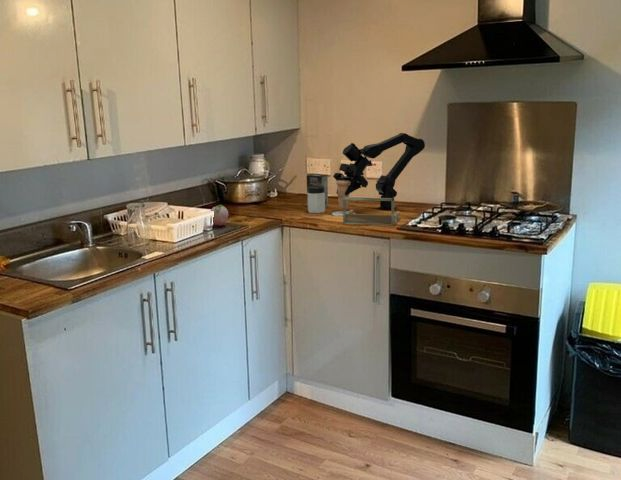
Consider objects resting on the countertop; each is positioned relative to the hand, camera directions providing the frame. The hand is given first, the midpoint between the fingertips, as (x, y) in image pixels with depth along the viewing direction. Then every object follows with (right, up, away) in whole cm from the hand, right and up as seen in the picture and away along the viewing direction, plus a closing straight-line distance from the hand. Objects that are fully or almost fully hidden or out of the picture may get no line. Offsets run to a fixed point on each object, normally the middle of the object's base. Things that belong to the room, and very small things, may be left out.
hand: (341, 194), depth 294 cm
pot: (+1, -6, +2) cm, 6 cm away
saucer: (+1, -9, +3) cm, 10 cm away
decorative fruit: (-54, -15, -15) cm, 58 cm away
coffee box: (-11, -5, +25) cm, 28 cm away
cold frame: (+13, -13, -15) cm, 24 cm away
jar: (-11, -8, +12) cm, 18 cm away
